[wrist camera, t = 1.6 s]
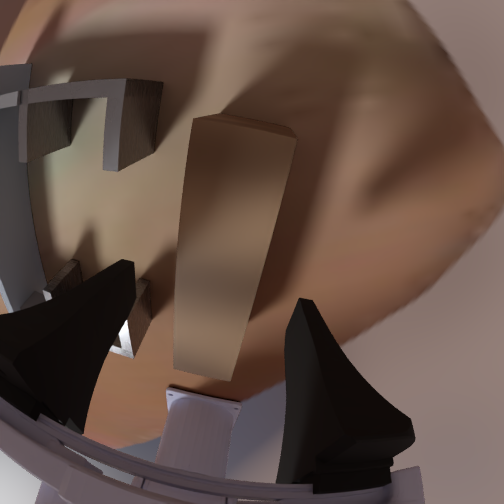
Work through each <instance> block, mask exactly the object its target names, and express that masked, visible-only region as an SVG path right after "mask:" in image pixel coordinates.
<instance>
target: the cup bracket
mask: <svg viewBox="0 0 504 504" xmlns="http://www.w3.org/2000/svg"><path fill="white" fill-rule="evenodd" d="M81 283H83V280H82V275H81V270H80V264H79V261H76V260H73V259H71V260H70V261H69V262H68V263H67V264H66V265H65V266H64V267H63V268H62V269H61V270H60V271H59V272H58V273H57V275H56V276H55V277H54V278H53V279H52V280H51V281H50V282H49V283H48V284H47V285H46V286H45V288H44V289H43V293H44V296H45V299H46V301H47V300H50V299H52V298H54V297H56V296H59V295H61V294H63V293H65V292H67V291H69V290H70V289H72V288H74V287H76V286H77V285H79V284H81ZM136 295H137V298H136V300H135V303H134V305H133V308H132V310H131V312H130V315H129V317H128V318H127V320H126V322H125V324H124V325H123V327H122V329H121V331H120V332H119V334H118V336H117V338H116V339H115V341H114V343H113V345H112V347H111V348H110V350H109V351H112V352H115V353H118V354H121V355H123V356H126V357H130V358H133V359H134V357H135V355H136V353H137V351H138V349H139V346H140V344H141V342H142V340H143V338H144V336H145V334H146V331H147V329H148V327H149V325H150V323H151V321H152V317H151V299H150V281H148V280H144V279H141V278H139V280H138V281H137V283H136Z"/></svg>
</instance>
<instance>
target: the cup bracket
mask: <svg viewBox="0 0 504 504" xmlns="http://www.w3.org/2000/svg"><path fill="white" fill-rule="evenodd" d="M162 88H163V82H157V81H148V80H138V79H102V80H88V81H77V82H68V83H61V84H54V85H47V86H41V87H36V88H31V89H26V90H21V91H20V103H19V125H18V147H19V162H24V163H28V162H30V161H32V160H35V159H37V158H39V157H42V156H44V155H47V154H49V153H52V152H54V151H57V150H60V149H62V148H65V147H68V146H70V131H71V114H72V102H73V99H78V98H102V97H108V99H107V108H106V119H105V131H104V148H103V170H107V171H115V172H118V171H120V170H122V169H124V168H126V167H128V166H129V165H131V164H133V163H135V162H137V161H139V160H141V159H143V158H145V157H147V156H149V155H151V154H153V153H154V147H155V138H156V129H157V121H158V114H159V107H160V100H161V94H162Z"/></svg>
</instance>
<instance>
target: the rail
mask: <svg viewBox="0 0 504 504" xmlns="http://www.w3.org/2000/svg"><path fill="white" fill-rule="evenodd" d="M297 140H298V139H297V137H296V136H295V134H294V133H293V131H292V130H291V129H290V128H289V127H284V126H280V125H276V124H272V123H267V122H263V121H258V120H253V119H248V118H243V117H237V116H232V115H226V114H220V113H219V114H214V115H208V116H203V117H198V118H194V119H193V123H192V129H191V135H190V141H189V148H188V155H187V162H186V169H185V177H184V185H183V193H182V202H181V212H180V222H179V233H178V246H177V260H176V276H175V297H174V336H173V366H174V369H177V370H181V371H184V372H188V373H193V374H197V375H201V376H205V377H210V378H214V379H219V380H224V381H229V382H230V381H231V378H232V375H233V371H234V368H235V364H236V361H237V358H238V354H239V351H240V347H241V344H242V341H243V337H244V334H245V330H246V327H247V323H248V320H249V316H250V313H251V309H252V306H253V302H254V299H255V295H256V292H257V288H258V285H259V281H260V278H261V274H262V270H263V267H264V263H265V260H266V256H267V252H268V249H269V245H270V242H271V238H272V234H273V231H274V227H275V223H276V220H277V216H278V212H279V209H280V205H281V201H282V197H283V194H284V190H285V186H286V182H287V179H288V175H289V171H290V167H291V163H292V160H293V156H294V152H295V148H296V144H297Z"/></svg>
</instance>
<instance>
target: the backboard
mask: <svg viewBox="0 0 504 504" xmlns="http://www.w3.org/2000/svg"><path fill="white" fill-rule="evenodd" d="M31 67H32V64H16V65H4V66H0V293H1V295H2V298H3V300H4V303H5V305H6V307H7V310H8V312H9V313H11V312H15V311H19V310H22V309H26V308H29V307H32V306H34V305H37V304H40V303H42V302H45V301H46V299H45V296H44V293H43V289H44V288H45V286H46V285H47V282H46V278H45V274H44V271H43V267H42V263H41V259H40V254H39V250H38V245H37V240H36V235H35V230H34V224H33V218H32V211H31V204H30V196H29V187H28V175H27V163H24V162H19V147H18V125H19V103H20V91H21V90H26V89H29V81H30V74H31Z"/></svg>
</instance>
